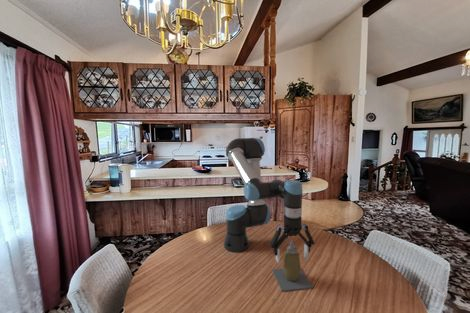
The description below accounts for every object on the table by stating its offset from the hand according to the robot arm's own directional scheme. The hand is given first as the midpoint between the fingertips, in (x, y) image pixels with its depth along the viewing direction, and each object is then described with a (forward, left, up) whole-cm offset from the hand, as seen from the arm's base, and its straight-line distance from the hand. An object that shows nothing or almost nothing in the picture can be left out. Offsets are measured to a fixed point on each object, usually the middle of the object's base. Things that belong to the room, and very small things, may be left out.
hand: (291, 260), depth 97 cm
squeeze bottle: (0, 0, -9) cm, 9 cm away
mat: (0, 0, -9) cm, 9 cm away
